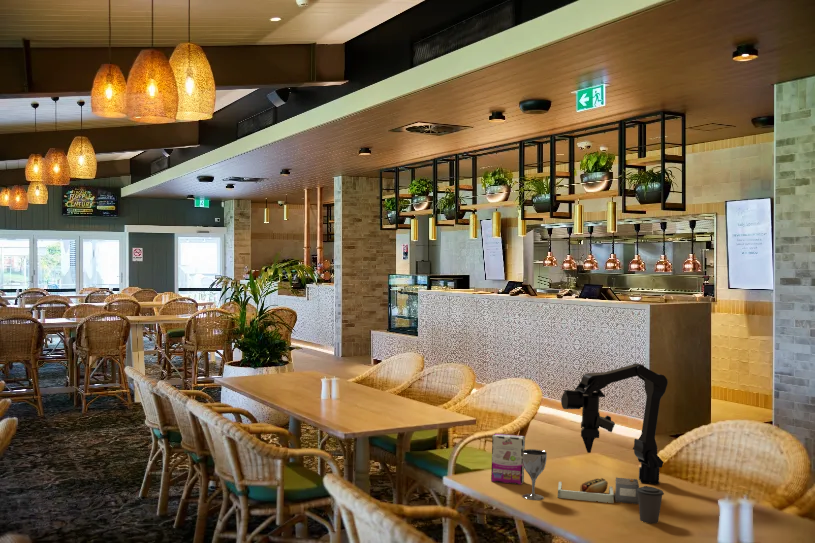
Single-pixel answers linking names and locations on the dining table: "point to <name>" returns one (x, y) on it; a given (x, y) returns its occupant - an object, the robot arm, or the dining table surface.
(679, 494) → the dining table surface
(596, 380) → the robot arm
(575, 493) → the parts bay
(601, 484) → the hot dog
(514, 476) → the candy bar box
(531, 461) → the wine glass
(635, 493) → the box
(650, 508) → the coffee cup
